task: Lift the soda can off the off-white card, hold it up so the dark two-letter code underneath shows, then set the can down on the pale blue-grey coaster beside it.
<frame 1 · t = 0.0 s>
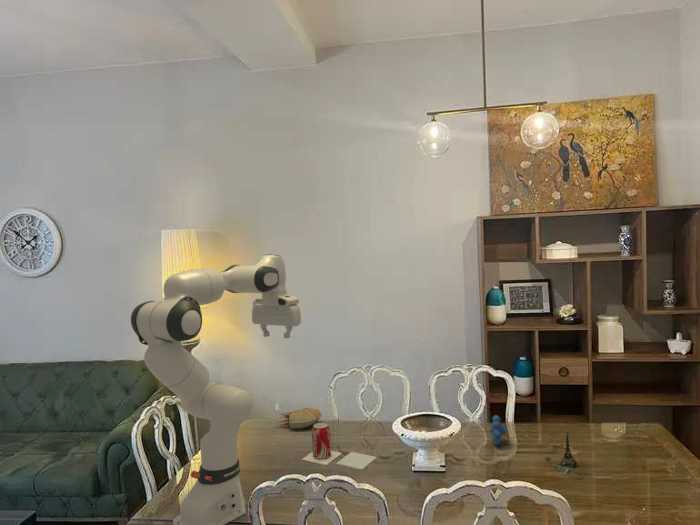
hand: (276, 337, 183), 48 cm above the table, tool pointing down, fingers open, 8 cm apart
code card: (322, 456, 192), on the table
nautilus: (298, 426, 226), on the table
soda can: (322, 456, 192), on the table, touching code card
coaster: (356, 461, 187), on the table
eiffel tower figurine: (566, 467, 176), on the table
blue figurine: (499, 445, 195), on the table
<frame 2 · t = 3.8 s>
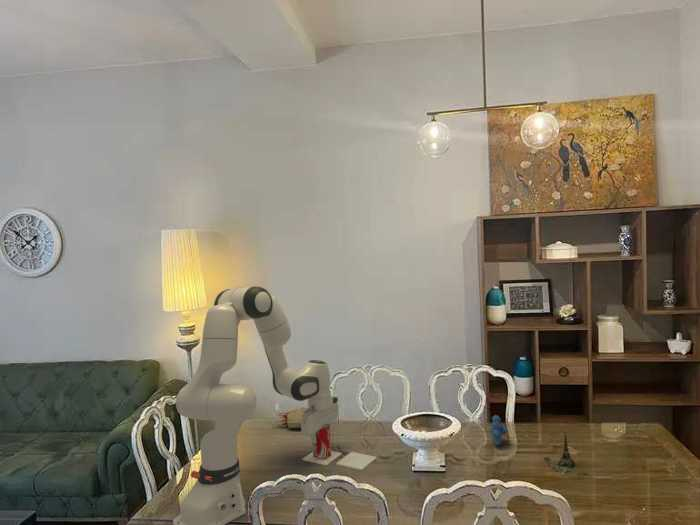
hand: (321, 438, 192), 7 cm above the table, tool pointing down, fingers closed on soda can, 7 cm apart
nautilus: (295, 426, 226), on the table
soda can: (322, 456, 192), on the table, touching code card, gripper
when the fingers open (9 cm above the table, at t = 10.6 s): soda can drops 1 cm, resting on coaster.
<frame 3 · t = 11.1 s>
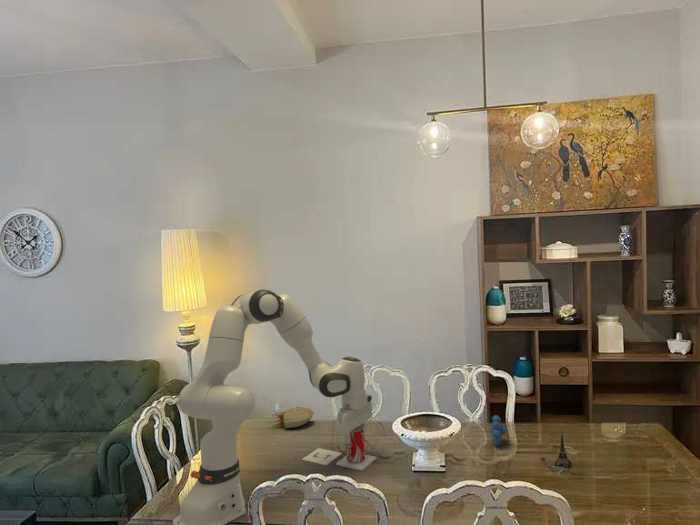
hand: (355, 438, 186), 9 cm above the table, tool pointing down, fingers open, 8 cm apart
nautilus: (290, 426, 227), on the table
soda can: (355, 460, 187), resting on coaster
eiffel tower figurine: (561, 467, 176), on the table
everything else where it was.
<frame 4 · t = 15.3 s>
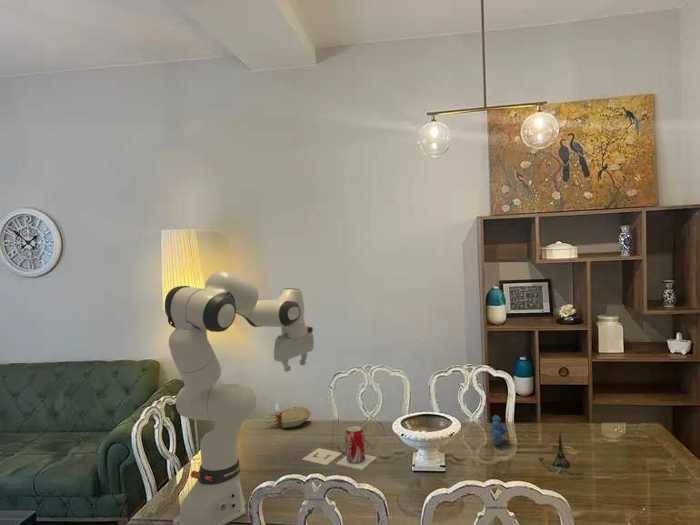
hand: (295, 368, 189), 35 cm above the table, tool pointing down, fingers open, 8 cm apart
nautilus: (287, 426, 227), on the table
at the end: soda can 0.3 cm from the coaster (horizontally); soda can tilted 0°; the gripper is holding nothing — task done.
